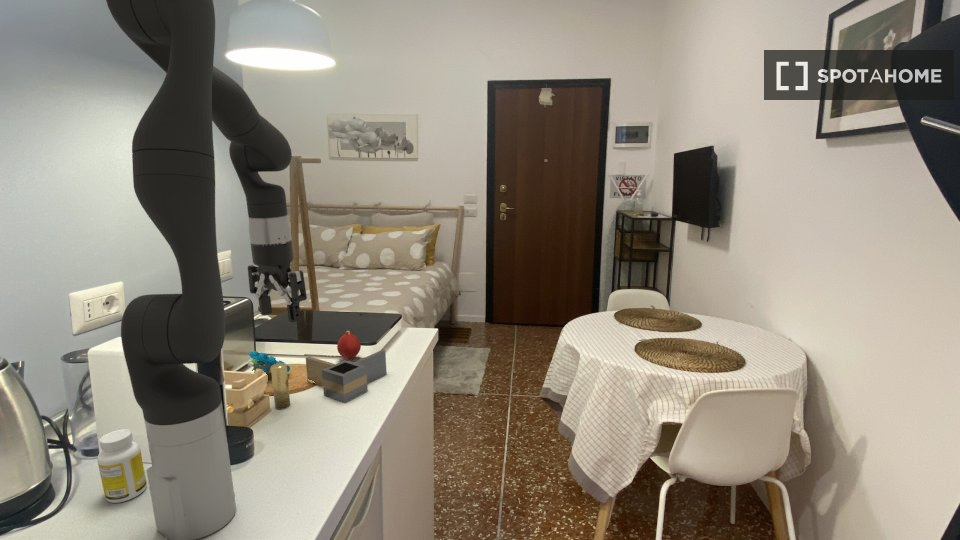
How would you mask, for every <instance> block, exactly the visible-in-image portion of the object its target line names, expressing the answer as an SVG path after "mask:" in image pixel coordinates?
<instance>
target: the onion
mask: <svg viewBox="0 0 960 540" xmlns="http://www.w3.org/2000/svg"><path fill="white" fill-rule="evenodd" d="M336 345H337V346H336V348H337V352H338V353H339V355H340V356H341V357H343V358H344V359H345V360H347V361H352V360H353V359H355V357H356V356H357V355H358V354H359V353H360V350H361V347H362V346H361V345H362V344H361V341H360V339H359V337H357V336H356V335H355V334H353V333H351V332H350V330H346V331H345V334H343V335H342V336H341V337H340V338H339V340H338V342H337V344H336Z"/></svg>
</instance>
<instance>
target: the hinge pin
mask: <svg viewBox="0 0 960 540" xmlns="http://www.w3.org/2000/svg"><path fill="white" fill-rule="evenodd" d="M286 365H287V363H285V362H284V363H277V364H274V365H272V366H271V368H270V371H271V381H272V389H273V398H274V406H275V409H277V410H284V409H288V408H289V407H291V404H292V403H291V398H290V397H291V395H290V388H289V387H290V386H289V376H288V372H287V366H286Z"/></svg>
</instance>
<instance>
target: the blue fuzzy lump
mask: <svg viewBox="0 0 960 540" xmlns="http://www.w3.org/2000/svg"><path fill="white" fill-rule="evenodd" d="M248 356H249V357H250V358H251V363H252V367H253V368H252V369H251V371H253V370H255V371H256V370H257V369H258V370H262V371H264V372H266V374H267V373H268V372H269V371H271V366H272V365H274V364H277V363H285V362H284V361H282V360H276V357H275V356H271V355H270V356H268V355H267V354H266V353H264V352H258V351H256V350H254V351H252V350H251V351H250V352H249V353H248ZM286 366H287V373H289V372H290V371H291V366H289V365H288V364H286Z"/></svg>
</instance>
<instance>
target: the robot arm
mask: <svg viewBox="0 0 960 540" xmlns="http://www.w3.org/2000/svg"><path fill="white" fill-rule="evenodd" d="M105 1H106V5H107V7H108V10H109V12H110V14H111V16H112V19H114V21H115V23H116V24H117V26H118V27H119V28H120V30H121V31H123V33H124V34H125V35H126V36H127V37H128V38H129V39H130V40H131V41H132V42H133V44H134V45H135V46H137V47H138V48H139V49H140V51H142V52H143V53H144V54H146V55H147V56H148V57H149V58H150V59H151V60H152V61H153V62H154V63H155V64H157V65H158V66H159V68H160V69H161V70H163V71H164V72H165V73H166V75H165V76H164V79H163V81H162V84H161V86H160V88H159V90H158V91H157V93H156V94H155V96H154V97H153V99H152V100H151V102H150V104H149V105H148V106H147V109H146V110H145V111H144V113H143V115H142V117H141V119H140V120H139V122H138V124H137V127H136V129H135V131H134V133H133V137H132V142H131V153H132V154H131V155H132V156H131V157H132V159H131V160H132V180H133V181H132V183H133V189H134V193H135V196H136V198H137V200H138V202H139V204H140V205H141V207H142V209H143V210H144V212H145V213H146V215H147V217H148V218H149V219H150V220H151V222H152V223H153V225H154V226H155V227H156V229H157V230H158V231H159V232H160V234H161V235H162V237H163V238H164V239H165V241H166V242H167V244H168V245H169V247H170V249H171V251H172V253H173V256H174V257H175V260H176V264H177V267H178V272H179V276H180V283H181V293H156V294H155V293H153V294H143V295H139V296H137V297H136V298H133V299H132V300H131V301H130V302H129V303H128V304H127V306H126V308H125V309H124V311H123V315H122V319H121V323H120V339H121V347H122V350H123V355H124V359H125V364H126V367H127V372H128V374H129V378H130V379H129V380H130V384H131V388H132V393H133V396H134V399H135V401H136V403H137V404H138V407H140V408H141V411H142V415H143V419H144V420H143V421H144V425H145V430H146V431H145V432H146V438H147V443H148V449H149V450H148V451H149V456H150V461H151V466H150V467H148V468H147V469H146V477H147V480H148V481H147V482H148V487H149V493H150V498H151V499H150V500H151V504H152V510H153V515H154V522H155V527H156V530H157V531H158V532H159V533H161V535H163V536H164V537H165V538H167V539H168V540H199V539H201V538H205V537H207V536H209V535H212V534H214V533H215V532H218V531H220V529H222V528H224V526H226V525H228V523H229V522H230V521H231V520H232V519H233V517H235V516H234V515H236V511H237V503H236V494H235V488H234V482H233V474H232V468H231V459H230V453H229V452H230V451H229V446H228V445H229V444H228V438H227V437H228V436H227V430H226V429H227V428H226V422H225V414H224V409H223V401H222V393H221V388H220V385H219V383H218V382H217V380H216V379H214V378H212V377H211V376H208V375H205V374H202V373H199V372H197V371H194V370H192V369H191V368H189V367H187V366H186V365H187V364H189V365H190V364H205V363H209V362H212V361H214V360H215V359H216V358H217V357H218V356H219V355H220V353H221V350H222V349H223V347H224V346H223V345H224V342H225V335H226V315H225V304H224V303H225V302H224V297H223V296H224V295H223V287H222V280H221V273H220V271H221V270H220V265H219V255H218V245H217V224H216V221H217V220H216V164H215V149H214V135H213V134H214V133H213V123H214V125H215V126H216V127H217V129H218V130H219V131H220V133H221V134H222V135H223V136H224V137H225V139H227V140H228V141H230V143H229V147H228V148H229V152H228V153H229V157H230V161H231V164H232V166H233V168H234V170H235V173H236V174H237V177H238V180H239V182H240V185H241V188H242V190H243V193H244V195H245V198H246V199H245V201H246V208H247V216H248V235H249V241H250V250H251V259H252V264H250V265H248V266H247V276H248V285H249V286H248V287H249V292H250V294H251V295H253V294H255V297H256V299H258V306H259V310H260V311H259V312H260V315H262V316H267V315H270V314H272V312H273V308H272V299H271V296H270V293H271V291H272V290H274V291H275V292H278V294H279V296H281V297H283V298H284V300H285V302H286V309H287V311H286V312H287V318H288V322H289V323H295V322H298V321H300V320H301V310H300V308H301V307H300V303H301V302H302V301H306V300H307V299H308V297H307V289H306V283H305V282H306V281H305V275H304V272H303V270H301V269H299V270H296V271H293V270H292V268H291V263H292V262H293V261H294V259H295V258H294V257H295V256H294V250H293V247H294V246H293V239H292V230H291V223H290V220H289V214H288V208H287V196H286V191H285V188H284V187H283V186H281V185H278V184H274V183H270V182H267V181H264V180H263V179H262V177H261V175H260V174H259V172H262V173H263V172H266V173H267V172H270V173H271V172H272V173H273V172H274V173H275V172H281V171H284V170H285V169H287V168H288V167H289V165H291V161H292V156H293V154H292V149H291V146H290V144H289V142H288V140H287V138H286V137H285V135H284V134H283V133H282V132H281V131H280V130H279V129H278V128H277V127H275V126H274V125H273V124H272V123H271V122H269V121H268V119H266V118H265V117H263V116H262V115H261V114H260V113H259V111H258V110H257V107H256V106H255V105H254V103H253V102H252V100H251V98H250V97H249V95H248V94H247V92H246V91H245V90H244V89H243V87H241V85H240V84H239V83H238V82H237V81H235V80H234V79H233V78H231V77H230V76H229V75H227V74H226V73H225V72H223V71H222V70H220V69H219V68H217V67H216V66H215V65H214V61H215V60H214V59H215V57H214V56H215V43H216V15H215V5H214V0H105ZM256 282H257V285H256ZM298 291H299V292H298ZM290 294H291V295H290Z"/></svg>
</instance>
